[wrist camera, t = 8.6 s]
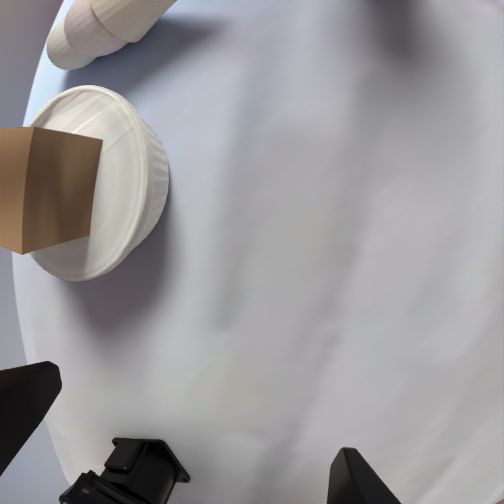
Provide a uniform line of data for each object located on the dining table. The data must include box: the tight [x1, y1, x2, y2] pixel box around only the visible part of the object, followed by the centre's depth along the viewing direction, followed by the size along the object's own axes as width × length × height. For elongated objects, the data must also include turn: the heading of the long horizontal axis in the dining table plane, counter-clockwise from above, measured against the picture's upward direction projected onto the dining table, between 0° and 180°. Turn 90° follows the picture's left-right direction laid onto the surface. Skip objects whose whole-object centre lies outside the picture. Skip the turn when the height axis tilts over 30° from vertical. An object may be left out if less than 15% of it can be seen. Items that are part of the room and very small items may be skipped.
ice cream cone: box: [47, 0, 177, 70], centre depth 13 cm, size 6×6×15 cm
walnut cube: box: [0, 127, 103, 255], centre depth 12 cm, size 5×5×5 cm
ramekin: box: [28, 85, 169, 282], centre depth 16 cm, size 11×11×5 cm
